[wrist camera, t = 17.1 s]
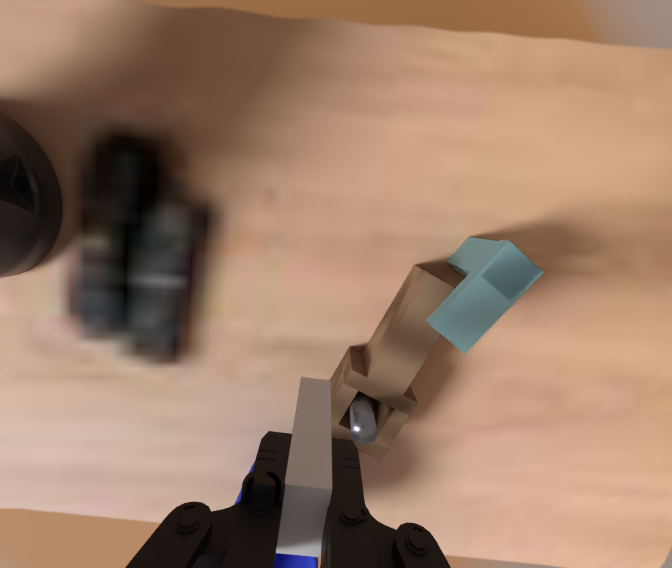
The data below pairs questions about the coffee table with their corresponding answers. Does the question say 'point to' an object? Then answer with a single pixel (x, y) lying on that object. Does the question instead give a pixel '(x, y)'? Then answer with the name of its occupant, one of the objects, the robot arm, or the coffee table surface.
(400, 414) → the link
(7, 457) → the coffee table surface
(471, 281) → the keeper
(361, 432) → the rod
